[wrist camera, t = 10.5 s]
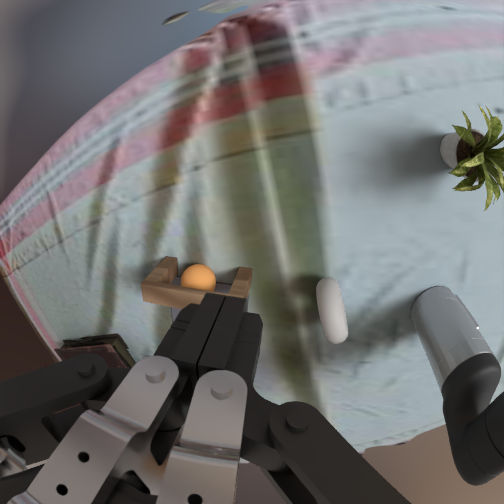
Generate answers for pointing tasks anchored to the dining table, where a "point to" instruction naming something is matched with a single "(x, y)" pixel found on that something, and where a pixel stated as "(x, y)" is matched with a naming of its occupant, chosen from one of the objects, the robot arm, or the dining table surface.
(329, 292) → the donut
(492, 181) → the house plant
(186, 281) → the ball
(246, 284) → the bridge
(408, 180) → the dining table surface
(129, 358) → the diary
